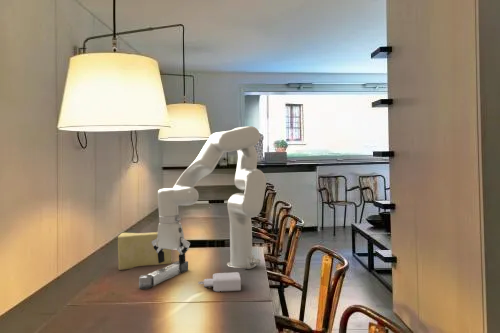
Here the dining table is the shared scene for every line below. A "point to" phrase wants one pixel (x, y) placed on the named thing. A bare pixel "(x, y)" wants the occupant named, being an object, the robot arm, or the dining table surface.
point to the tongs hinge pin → (145, 281)
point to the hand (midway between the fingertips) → (171, 263)
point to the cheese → (139, 250)
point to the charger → (224, 282)
